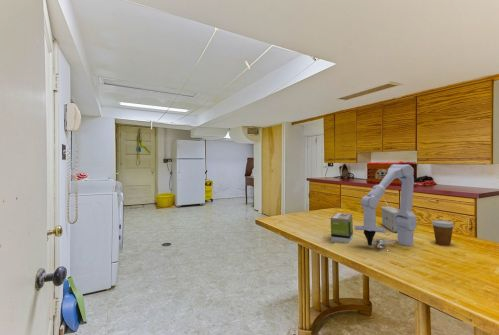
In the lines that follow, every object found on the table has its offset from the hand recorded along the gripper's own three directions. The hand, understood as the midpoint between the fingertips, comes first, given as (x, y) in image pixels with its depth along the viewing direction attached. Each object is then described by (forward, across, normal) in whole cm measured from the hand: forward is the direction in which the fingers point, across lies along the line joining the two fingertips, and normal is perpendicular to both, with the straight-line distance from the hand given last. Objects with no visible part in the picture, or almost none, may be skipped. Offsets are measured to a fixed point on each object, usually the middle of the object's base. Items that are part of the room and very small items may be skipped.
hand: (370, 245), depth 127 cm
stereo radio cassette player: (+3, +7, +50) cm, 51 cm away
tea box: (+3, -16, +9) cm, 18 cm away
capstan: (+1, +4, +2) cm, 5 cm away
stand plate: (+2, +4, +4) cm, 6 cm away
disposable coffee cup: (+3, +32, +29) cm, 43 cm away
